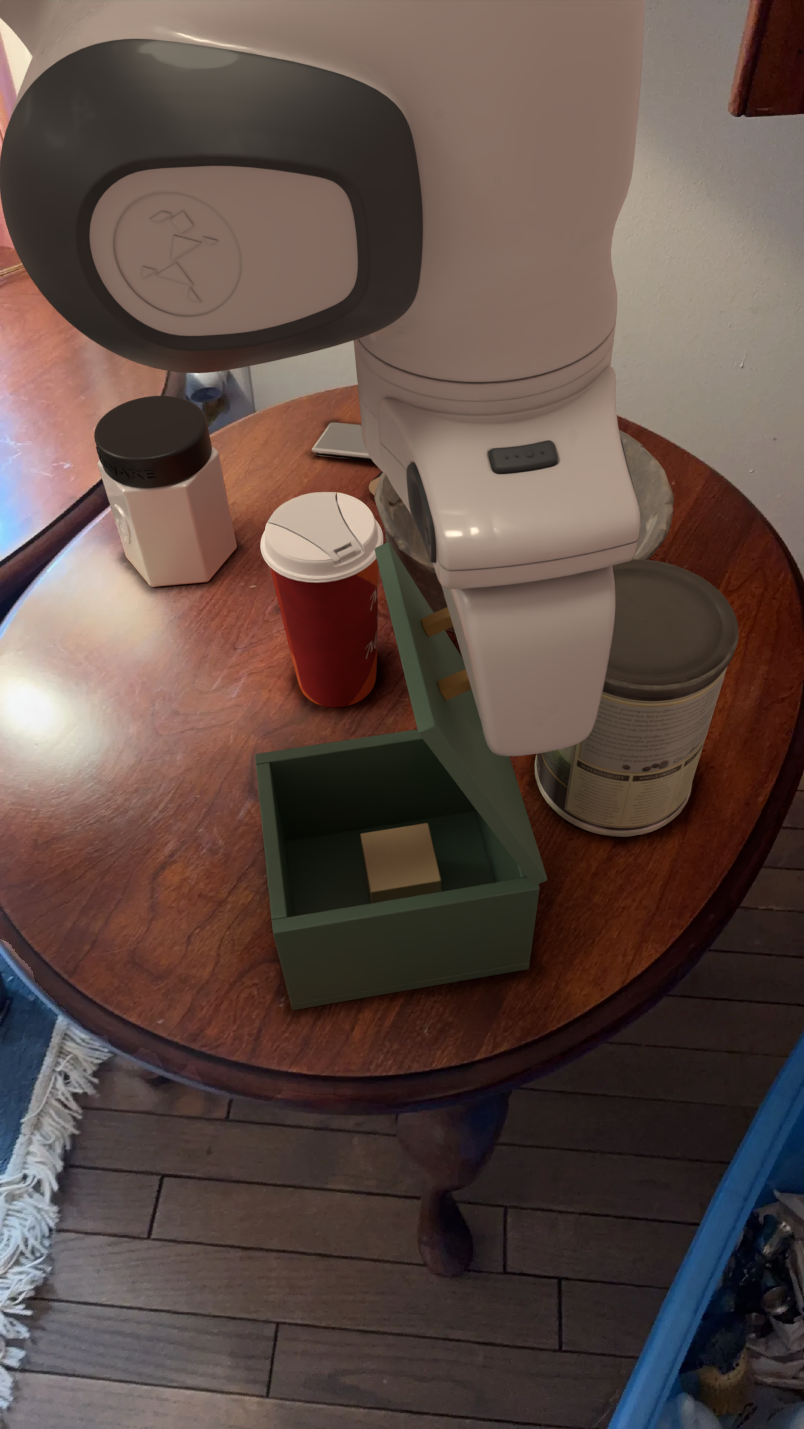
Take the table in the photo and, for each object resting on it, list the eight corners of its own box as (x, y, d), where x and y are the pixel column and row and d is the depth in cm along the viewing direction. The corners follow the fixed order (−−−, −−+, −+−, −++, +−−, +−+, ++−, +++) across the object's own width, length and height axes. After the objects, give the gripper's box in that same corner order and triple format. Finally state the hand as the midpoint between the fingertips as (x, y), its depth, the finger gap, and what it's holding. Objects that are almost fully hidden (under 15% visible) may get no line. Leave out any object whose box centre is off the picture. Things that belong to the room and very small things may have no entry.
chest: (292, 1011, 58) (272, 933, 51) (273, 840, 65) (254, 753, 59) (529, 969, 59) (540, 888, 52) (484, 806, 67) (488, 717, 60)
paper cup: (412, 687, 73) (406, 532, 63) (319, 736, 71) (297, 583, 60) (352, 625, 78) (338, 470, 67) (263, 668, 75) (234, 514, 64)
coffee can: (501, 775, 68) (511, 621, 57) (599, 691, 73) (626, 534, 62) (627, 868, 63) (664, 719, 52) (724, 772, 68) (776, 616, 57)
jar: (111, 545, 85) (71, 417, 76) (199, 506, 88) (171, 379, 79) (161, 605, 80) (125, 476, 71) (253, 562, 83) (229, 433, 74)
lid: (417, 733, 41) (528, 685, 40) (373, 547, 49) (465, 503, 48) (533, 886, 52) (623, 852, 51) (482, 715, 60) (560, 682, 59)
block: (441, 916, 60) (441, 880, 57) (374, 928, 60) (370, 892, 57) (428, 859, 63) (428, 822, 60) (364, 870, 63) (360, 833, 60)
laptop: (388, 446, 88) (390, 467, 90) (407, 415, 92) (408, 436, 94) (309, 438, 90) (312, 458, 92) (331, 408, 94) (333, 428, 95)
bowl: (539, 480, 88) (548, 374, 81) (711, 617, 77) (741, 510, 69) (330, 573, 81) (318, 468, 74) (486, 741, 70) (491, 636, 62)
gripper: (354, 264, 43) (377, 525, 54) (451, 590, 30) (457, 852, 40) (501, 245, 44) (496, 507, 54) (662, 557, 30) (613, 824, 41)
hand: (480, 657), depth 47 cm, fingers closed on lid, 5 cm apart
